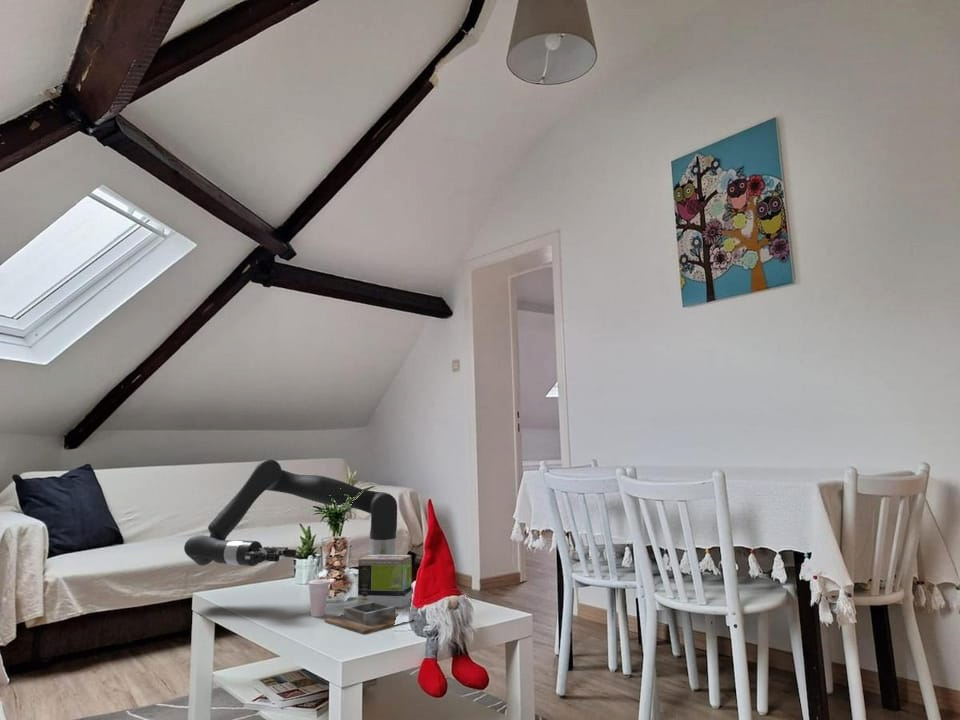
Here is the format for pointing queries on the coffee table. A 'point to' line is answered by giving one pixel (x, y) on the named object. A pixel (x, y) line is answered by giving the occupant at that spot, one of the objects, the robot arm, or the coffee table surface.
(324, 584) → the smoothie
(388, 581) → the tea box
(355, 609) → the collar stand
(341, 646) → the coffee table surface
